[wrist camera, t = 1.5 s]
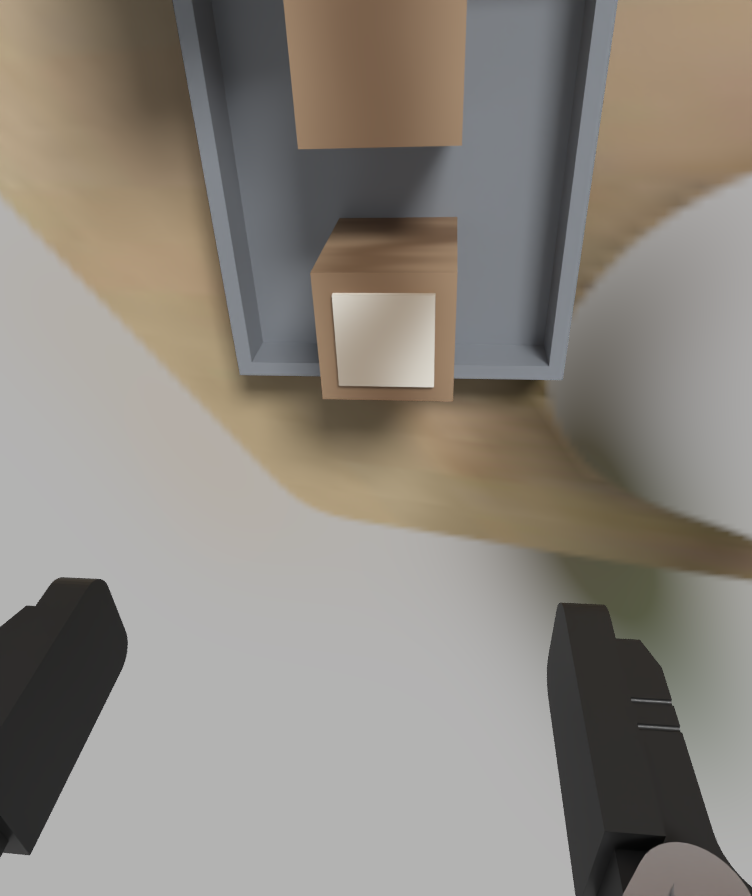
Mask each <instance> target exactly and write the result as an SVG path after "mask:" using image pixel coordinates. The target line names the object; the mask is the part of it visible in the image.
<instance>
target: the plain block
mask: <svg viewBox="0 0 752 896" xmlns="http://www.w3.org/2000/svg"><path fill="white" fill-rule="evenodd" d="M283 3H284V13H285V23H286V33H287V43H288V53H289V63H290V73H291V83H292V93H293V104H294V114H295V124H296V134H297V144H298V149H335V148H379V147H424V146H462V129H463V100H464V72H465V43H466V15H467V0H283Z"/></svg>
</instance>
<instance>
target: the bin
mask: <svg viewBox="0 0 752 896" xmlns="http://www.w3.org/2000/svg"><path fill="white" fill-rule="evenodd" d="M617 2H618V0H467V15H466V43H465V72H464V100H463V129H462V146H424V147H379V148H335V149H298V144H297V134H296V124H295V114H294V104H293V93H292V83H291V73H290V63H289V53H288V43H287V33H286V23H285V13H284V3H283V0H173V6H174V11H175V17H176V22H177V28H178V34H179V39H180V45H181V50H182V56H183V61H184V67H185V72H186V78H187V84H188V89H189V95H190V100H191V106H192V111H193V117H194V122H195V128H196V134H197V139H198V145H199V150H200V156H201V161H202V167H203V173H204V178H205V184H206V189H207V195H208V200H209V206H210V211H211V217H212V223H213V228H214V234H215V239H216V245H217V250H218V256H219V261H220V267H221V273H222V278H223V284H224V289H225V295H226V300H227V306H228V312H229V317H230V323H231V328H232V334H233V339H234V345H235V350H236V356H237V362H238V367H239V373H240V375H271V376H320V366H319V356H318V346H317V336H316V326H315V315H314V305H313V295H312V285H311V275H310V272H311V270H312V269H313V267H314V265H315V263H316V261H317V259H318V257H319V255H320V254H321V252H322V250H323V248H324V246H325V244H326V242H327V240H328V239H329V237H330V235H331V233H332V231H333V229H334V227H335V225H336V224H337V222H338V220H339V218H406V217H457V301H456V329H455V358H454V378H461V379H525V380H563V375H564V368H565V361H566V354H567V347H568V340H569V333H570V326H571V319H572V313H573V306H574V299H575V292H576V285H577V278H578V271H579V264H580V257H581V250H582V244H583V237H584V230H585V223H586V216H587V209H588V202H589V195H590V188H591V181H592V174H593V168H594V161H595V154H596V147H597V140H598V133H599V126H600V119H601V112H602V105H603V99H604V92H605V85H606V78H607V71H608V64H609V57H610V50H611V43H612V36H613V30H614V23H615V16H616V9H617Z"/></svg>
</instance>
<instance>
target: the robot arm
mask: <svg viewBox="0 0 752 896" xmlns="http://www.w3.org/2000/svg"><path fill="white" fill-rule="evenodd" d="M127 645H128V641H127V634H126V631H125V628H124V626H123V624H122V621H121V618H120V616H119V613H118V611H117V608H116V606H115V603H114V600H113V598H112V595H111V593H110V590H109V588H108V586H107V584H106V582H105V581H103V580H101V579H85V578H64V577H61V578H58V579H56V580H55V581H54V582H52V583H51V585H50V586H49V587H48V589H47V590H46V592H45V593H44V595H43V596H42V598H41V599H40V600H39V602H38V603H37V605H36V606H25V607H24V608H23V609H22V610H21V611H19V612H18V613H17V614H16V615H14V616H13V617H12V618H11V619H9V620H8V621H7V622H6V623H5V624H3V625H2V626H1V627H0V857H1V855H2V853H13V854H23V855H30V854H31V852H32V850H33V848H34V846H35V844H36V842H37V839H38V838H39V836H40V834H41V832H42V830H43V828H44V826H45V824H46V822H47V820H48V818H49V816H50V814H51V812H52V810H53V808H54V806H55V804H56V802H57V800H58V797H59V795H60V793H61V791H62V789H63V787H64V785H65V783H66V781H67V779H68V777H69V775H70V773H71V771H72V769H73V767H74V765H75V763H76V761H77V759H78V757H79V755H80V753H81V751H82V749H83V747H84V745H85V743H86V741H87V739H88V737H89V735H90V733H91V731H92V728H93V727H94V725H95V723H96V720H97V719H98V716H99V714H100V712H101V710H102V708H103V706H104V704H105V702H106V700H107V698H108V696H109V694H110V692H111V690H112V688H113V686H114V684H115V682H116V680H117V678H118V676H119V674H120V672H121V670H122V668H123V665H124V662H125V659H126V654H127ZM547 687H548V698H549V706H550V713H551V720H552V727H553V735H554V742H555V749H556V757H557V764H558V771H559V778H560V785H561V793H562V800H563V807H564V815H565V821H566V829H567V837H568V844H569V851H570V858H571V865H572V873H573V880H574V888H575V895H576V896H752V887H751V886H750V885H749V884H747V882H745V881H744V879H742V878H741V877H740V876H739V874H738V873H737V872H736V871H735V870H734V868H733V867H732V866H731V865H730V863H729V862H728V860H727V859H726V857H725V856H724V855H723V853H722V851H721V849H720V847H719V845H718V843H717V841H716V838H715V836H714V833H713V830H712V827H711V824H710V820H709V817H708V814H707V811H706V808H705V804H704V802H703V798H702V795H701V792H700V788H699V785H698V782H697V779H696V776H695V773H694V769H693V766H692V763H691V760H690V756H689V753H688V750H687V747H686V744H685V740H684V737H683V734H682V733H681V732H680V725H679V721H678V718H677V715H676V712H675V709H674V706H672V703H671V700H672V699H671V696H670V693H669V690H668V686H667V683H666V680H665V677H664V673H663V670H662V668H661V666H660V665H659V664H658V662H657V661H656V660H655V659H654V657H653V656H652V655H651V653H649V651H648V650H647V648H646V647H645V646H644V645H643V643H642V642H641V641H640V640H633V639H616V638H615V634H614V630H613V626H612V622H611V619H610V615H609V611H608V609H607V607H606V606H605V605H596V604H576V603H559V604H558V607H557V611H556V617H555V622H554V628H553V633H552V640H551V645H550V650H549V656H548V665H547Z"/></svg>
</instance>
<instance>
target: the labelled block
mask: <svg viewBox="0 0 752 896" xmlns="http://www.w3.org/2000/svg"><path fill="white" fill-rule="evenodd" d="M310 275H311V285H312V295H313V305H314V315H315V326H316V336H317V346H318V356H319V366H320V376H321V386H322V396H323V399H349V400H401V401H452V402H453V387H454V358H455V329H456V301H457V217H406V218H339V220H338V222H337V224H336V225H335V227H334V229H333V231H332V233H331V235H330V237H329V239H328V240H327V242H326V244H325V246H324V248H323V250H322V252H321V254H320V255H319V257H318V259H317V261H316V263H315V265H314V267H313V269H312V270H311V272H310Z"/></svg>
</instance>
